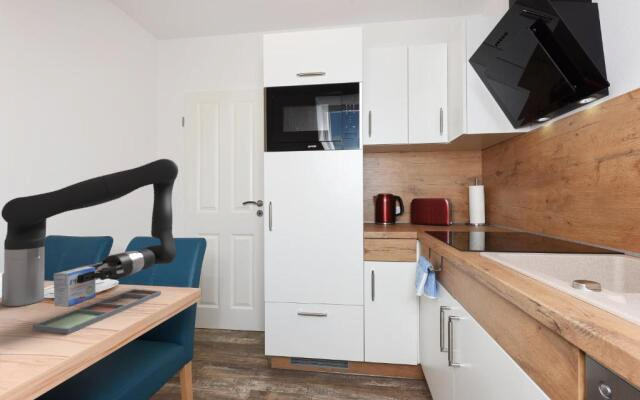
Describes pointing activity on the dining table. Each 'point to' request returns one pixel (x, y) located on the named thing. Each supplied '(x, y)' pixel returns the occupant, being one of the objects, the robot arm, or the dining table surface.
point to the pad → (72, 320)
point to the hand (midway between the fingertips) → (71, 278)
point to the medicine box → (72, 287)
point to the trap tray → (98, 311)
